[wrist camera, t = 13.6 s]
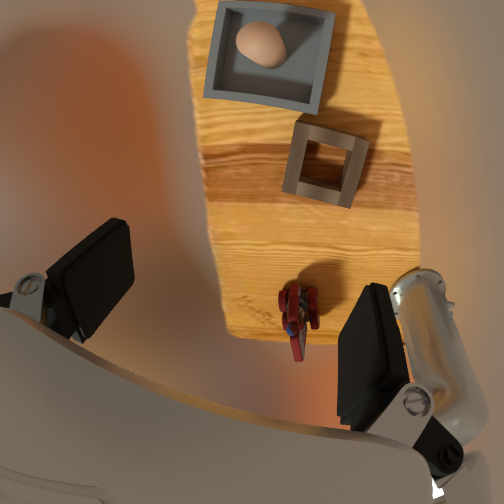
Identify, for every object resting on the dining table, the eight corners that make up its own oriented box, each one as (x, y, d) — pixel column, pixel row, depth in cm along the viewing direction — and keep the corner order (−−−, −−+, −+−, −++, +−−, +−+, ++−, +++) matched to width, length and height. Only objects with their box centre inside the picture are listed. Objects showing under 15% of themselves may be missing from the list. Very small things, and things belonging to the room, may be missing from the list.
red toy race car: (315, 275, 47) (314, 316, 39) (320, 323, 53) (318, 364, 45) (277, 278, 49) (268, 318, 41) (287, 325, 55) (281, 364, 47)
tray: (333, 21, 25) (335, 13, 22) (316, 114, 33) (316, 115, 30) (227, 8, 26) (219, 0, 23) (212, 97, 35) (202, 97, 31)
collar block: (364, 138, 33) (369, 141, 31) (347, 200, 39) (350, 208, 36) (296, 120, 34) (295, 121, 31) (283, 184, 40) (281, 191, 37)
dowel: (279, 36, 27) (270, 15, 18) (292, 63, 29) (288, 50, 20) (249, 47, 29) (229, 31, 20) (262, 73, 31) (246, 65, 22)
